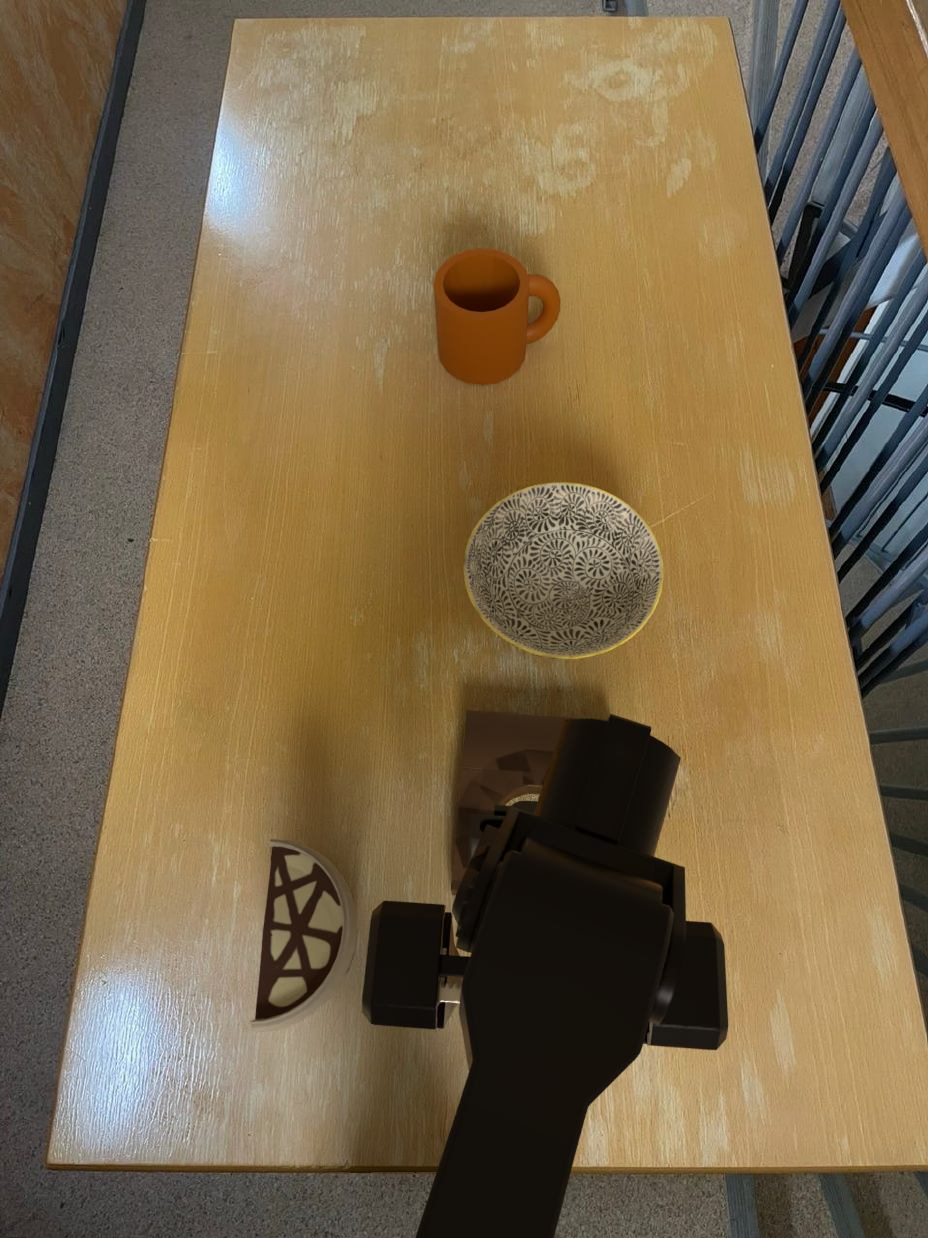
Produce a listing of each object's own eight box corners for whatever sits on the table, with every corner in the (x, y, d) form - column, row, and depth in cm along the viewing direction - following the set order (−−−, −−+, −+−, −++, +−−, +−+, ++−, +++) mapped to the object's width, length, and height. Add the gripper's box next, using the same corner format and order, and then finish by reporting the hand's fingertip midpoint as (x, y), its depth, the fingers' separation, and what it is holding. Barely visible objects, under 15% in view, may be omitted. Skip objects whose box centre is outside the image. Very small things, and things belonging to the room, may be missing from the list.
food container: (366, 1035, 66) (346, 1034, 57) (281, 1034, 66) (247, 1032, 57) (375, 860, 71) (358, 834, 62) (296, 860, 71) (268, 833, 62)
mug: (560, 384, 90) (567, 318, 82) (438, 387, 90) (433, 321, 82) (555, 314, 94) (562, 244, 86) (438, 317, 94) (433, 247, 86)
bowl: (428, 622, 80) (423, 583, 73) (535, 496, 85) (539, 448, 78) (581, 728, 75) (590, 696, 68) (684, 589, 80) (702, 546, 74)
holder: (612, 924, 69) (616, 920, 66) (448, 911, 69) (447, 906, 67) (615, 730, 75) (619, 721, 73) (464, 720, 76) (464, 710, 74)
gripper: (746, 800, 45) (684, 861, 59) (370, 777, 46) (397, 842, 60) (763, 1050, 40) (691, 1051, 55) (342, 1019, 41) (379, 1028, 55)
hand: (535, 984), depth 56 cm, fingers open, 9 cm apart
